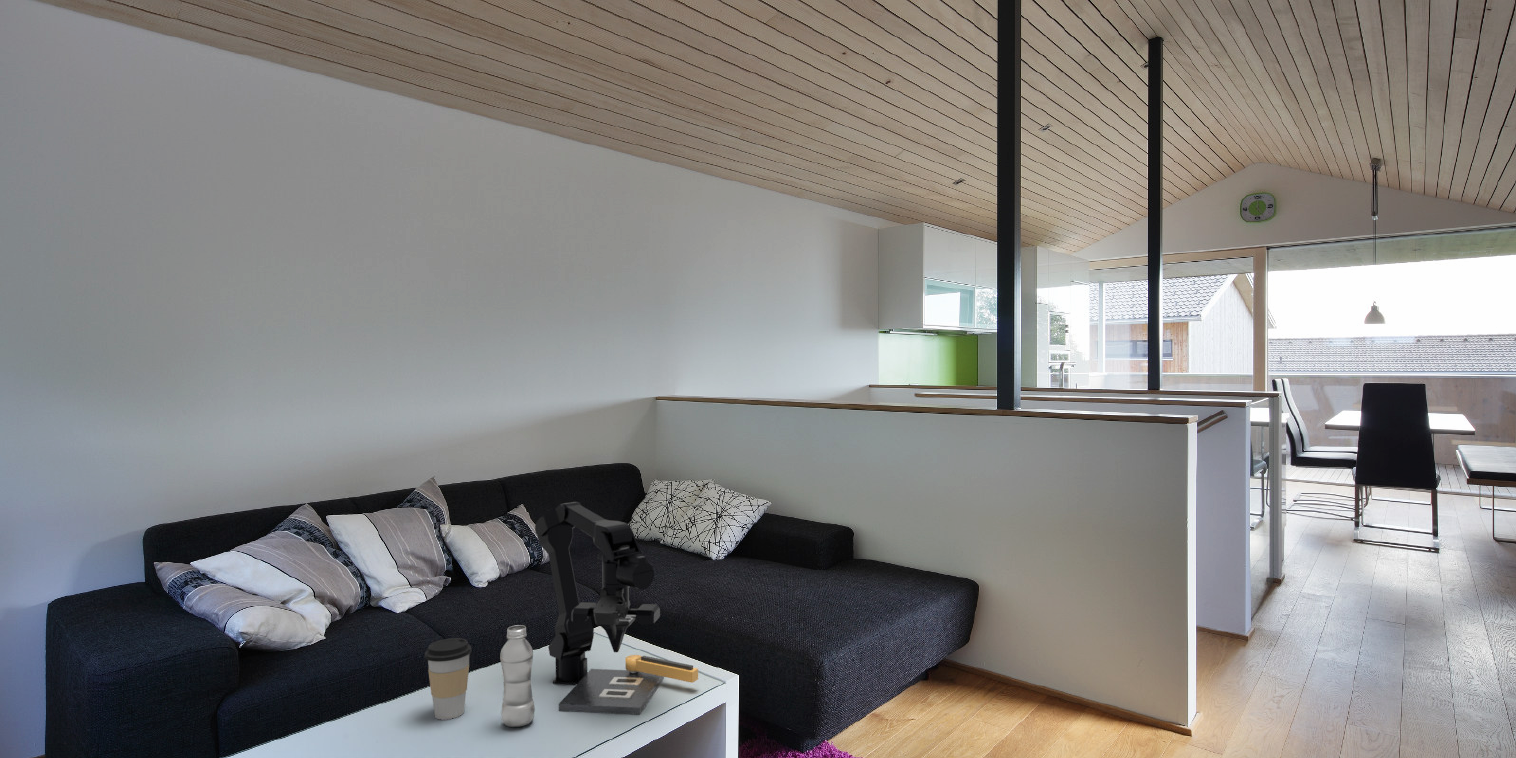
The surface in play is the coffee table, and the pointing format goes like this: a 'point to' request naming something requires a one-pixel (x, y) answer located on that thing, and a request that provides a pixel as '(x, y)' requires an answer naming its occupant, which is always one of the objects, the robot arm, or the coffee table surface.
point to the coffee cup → (448, 676)
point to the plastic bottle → (517, 678)
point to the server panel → (611, 692)
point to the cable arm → (661, 668)
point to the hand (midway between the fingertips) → (616, 651)
